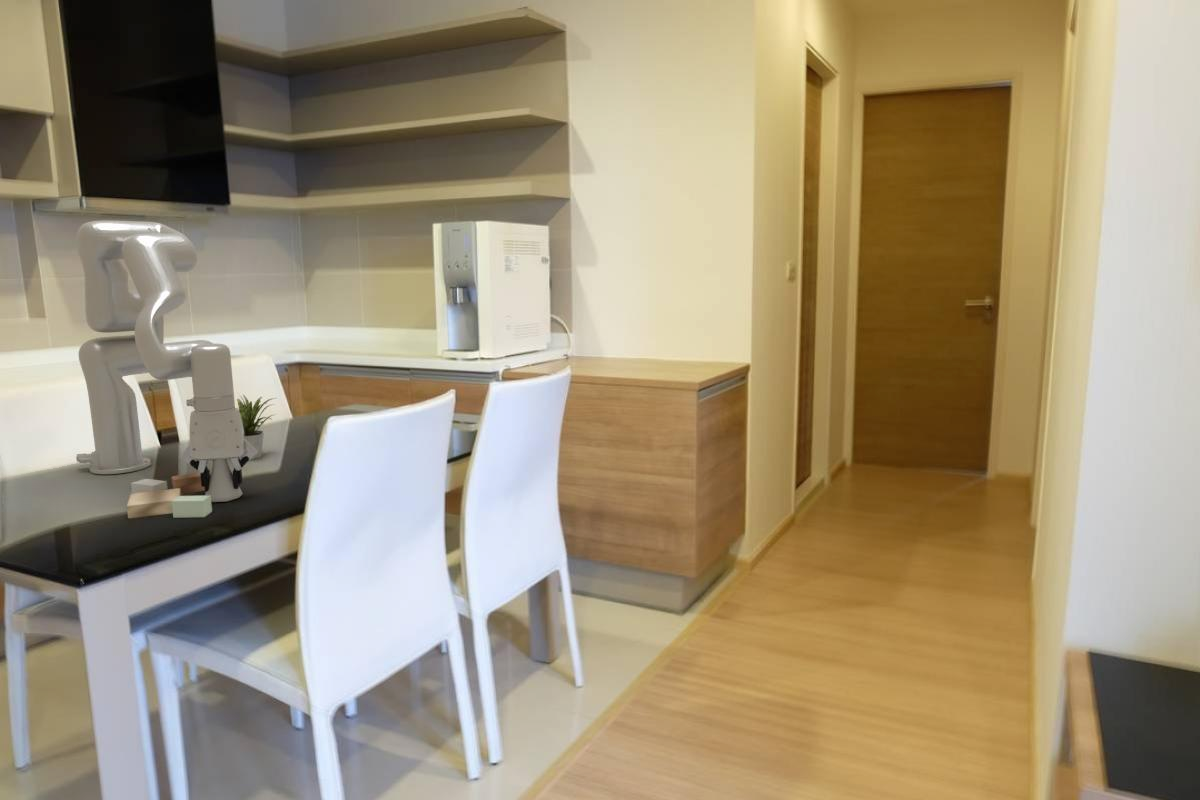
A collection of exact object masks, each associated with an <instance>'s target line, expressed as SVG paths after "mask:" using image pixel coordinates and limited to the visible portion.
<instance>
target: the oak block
mask: <svg viewBox="0 0 1200 800" xmlns="http://www.w3.org/2000/svg"><path fill="white" fill-rule="evenodd" d="M179 496H182V494H181V491H180V488H176V489H173V488H169V489H168V490H159V491H150V492H142V493H133V494H132V493H130V495H129V499H128V501H127V504H126V511H127V519H137V518H145V517H152V516H162V515H169V514H173V510H172V501H173V500H174V499H176V498H178V497H179Z"/></svg>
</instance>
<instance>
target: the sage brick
mask: <svg viewBox="0 0 1200 800" xmlns="http://www.w3.org/2000/svg"><path fill="white" fill-rule="evenodd" d="M172 510H173V513H172V516H173V517H172V518H173V519H174V518H178V519H180V518H182V519H183V518H184V519H185V518H205V517H207V516H208V515H210V514H211V513H212V512H213V506H212V502H211V495H206V496H205V495H181V496H179V497H178V498H176V499H174V500H173V501H172Z"/></svg>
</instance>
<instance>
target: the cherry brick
mask: <svg viewBox="0 0 1200 800" xmlns="http://www.w3.org/2000/svg"><path fill="white" fill-rule="evenodd" d="M171 482H172V483H171V484H172V485H171V486H172V489H176V488H180V491H181V495H184V494H185V495H186V494H191V493H197V492H203V491H204V492H206V491H205V488H204V487H202V486H201V476H200V473H199V472H198V471H197V472H192V473H185V474H178V475H172V476H171Z"/></svg>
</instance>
